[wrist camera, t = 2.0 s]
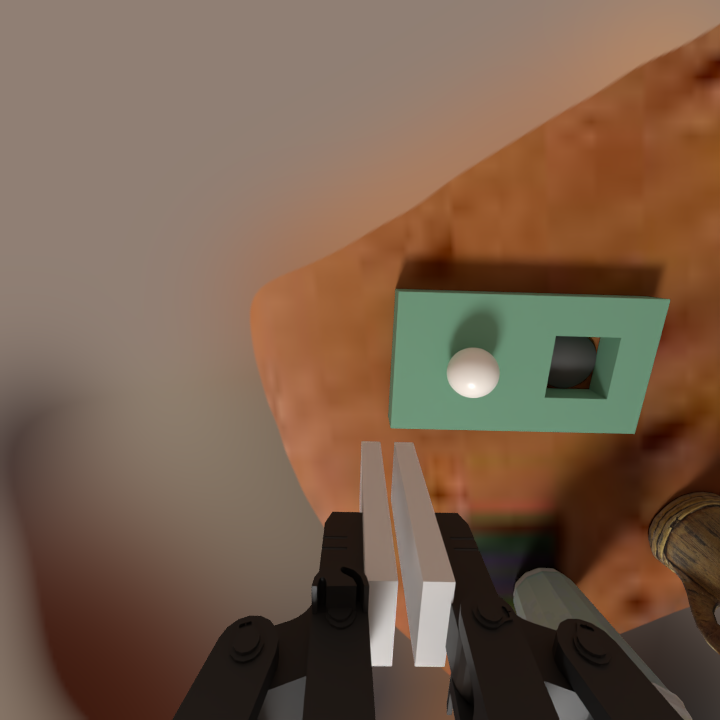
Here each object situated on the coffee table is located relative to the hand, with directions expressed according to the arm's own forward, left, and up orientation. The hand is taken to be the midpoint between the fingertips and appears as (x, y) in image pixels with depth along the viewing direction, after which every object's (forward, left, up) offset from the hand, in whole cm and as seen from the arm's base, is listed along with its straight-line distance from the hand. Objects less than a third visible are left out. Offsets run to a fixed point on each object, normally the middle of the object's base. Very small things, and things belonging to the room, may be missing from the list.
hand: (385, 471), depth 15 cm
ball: (-8, 0, -14) cm, 16 cm away
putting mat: (-13, 0, -18) cm, 23 cm away
